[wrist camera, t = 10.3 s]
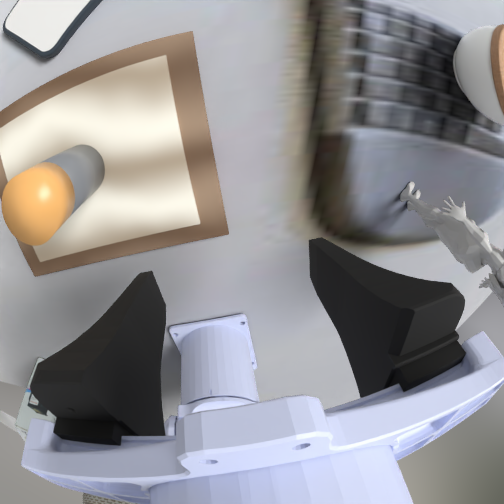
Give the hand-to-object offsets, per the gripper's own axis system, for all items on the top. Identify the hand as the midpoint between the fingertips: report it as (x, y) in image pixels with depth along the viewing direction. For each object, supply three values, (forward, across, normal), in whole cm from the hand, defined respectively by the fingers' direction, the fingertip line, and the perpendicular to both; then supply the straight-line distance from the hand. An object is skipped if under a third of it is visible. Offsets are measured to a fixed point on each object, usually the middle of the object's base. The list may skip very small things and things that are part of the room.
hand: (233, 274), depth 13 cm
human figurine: (+11, -17, +3) cm, 20 cm away
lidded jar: (+11, -27, -11) cm, 31 cm away
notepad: (+10, +10, -5) cm, 15 cm away
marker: (+10, +10, -5) cm, 15 cm away
